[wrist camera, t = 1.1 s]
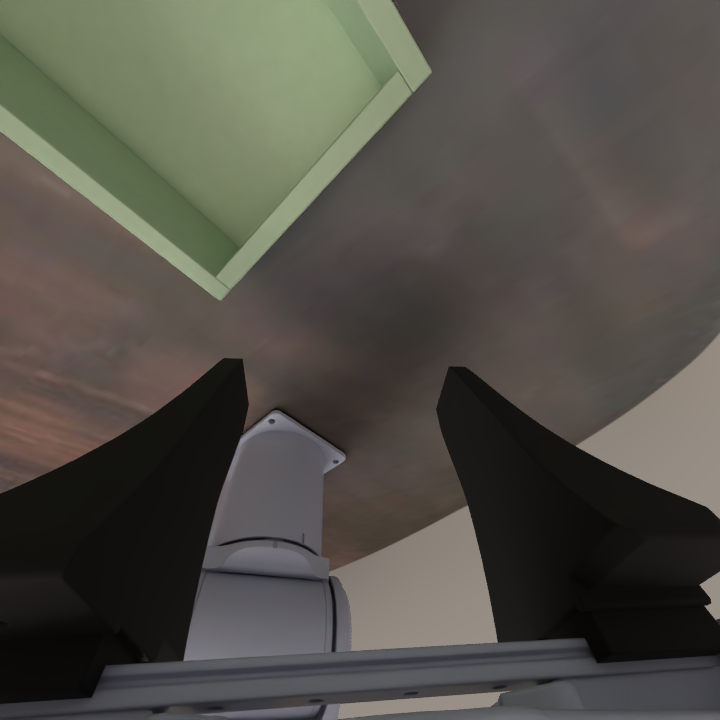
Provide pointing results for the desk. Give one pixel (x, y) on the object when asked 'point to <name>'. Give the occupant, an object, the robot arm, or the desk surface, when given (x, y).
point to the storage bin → (202, 111)
